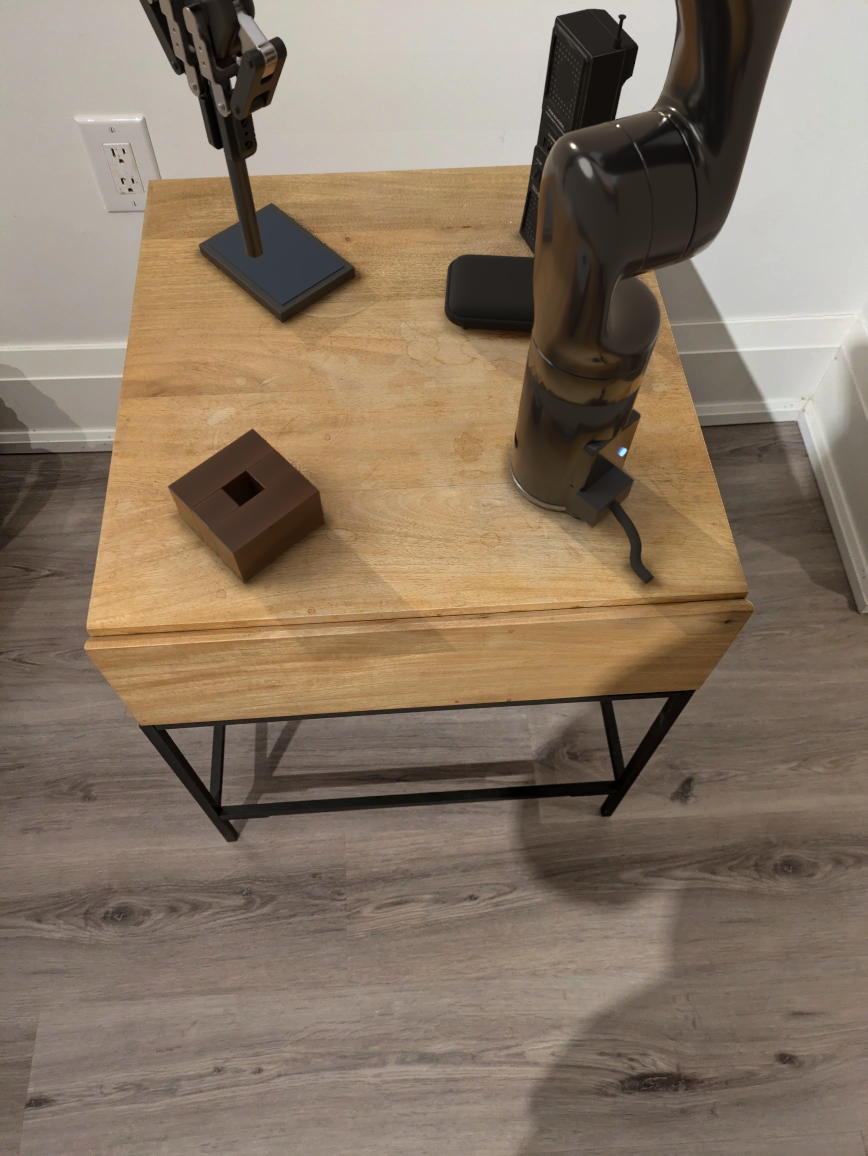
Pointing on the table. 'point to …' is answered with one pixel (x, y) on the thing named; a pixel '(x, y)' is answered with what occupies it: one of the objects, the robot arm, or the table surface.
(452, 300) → the carrying case
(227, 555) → the pen stand
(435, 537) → the table surface
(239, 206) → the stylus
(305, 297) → the tablet
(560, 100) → the portable radio
